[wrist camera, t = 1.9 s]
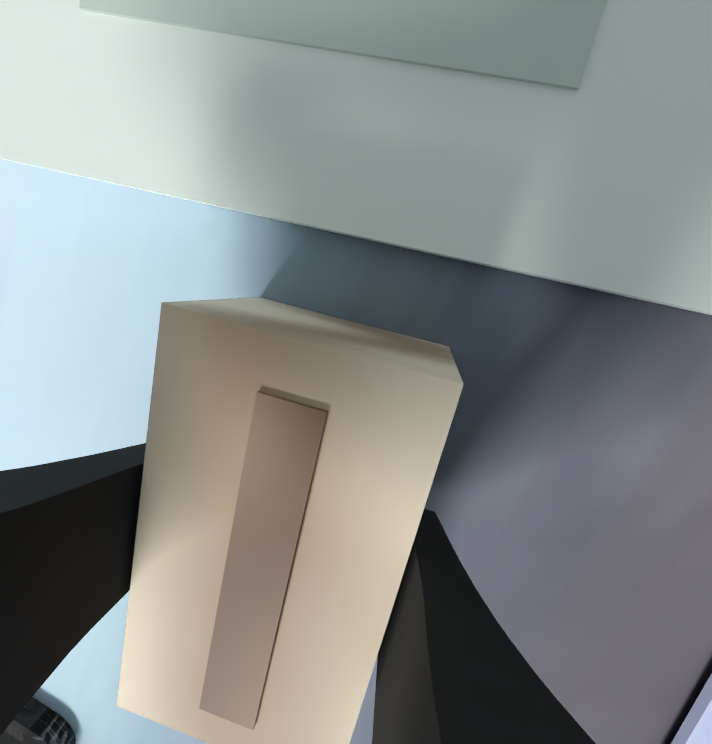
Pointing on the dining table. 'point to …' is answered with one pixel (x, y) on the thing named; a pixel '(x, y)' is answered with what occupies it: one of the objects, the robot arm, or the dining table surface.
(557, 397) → the dining table surface
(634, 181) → the mat
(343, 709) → the card box
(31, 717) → the phone
